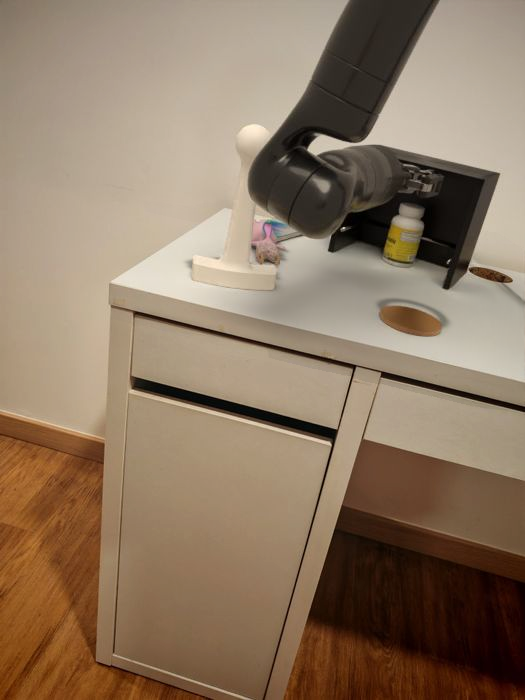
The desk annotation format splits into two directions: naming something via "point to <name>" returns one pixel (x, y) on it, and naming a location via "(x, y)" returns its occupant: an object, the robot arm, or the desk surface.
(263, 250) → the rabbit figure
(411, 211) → the supplement bottle
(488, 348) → the desk surface
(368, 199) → the robot arm
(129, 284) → the desk surface
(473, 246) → the black open shelf
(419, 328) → the cork trivet
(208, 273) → the joystick
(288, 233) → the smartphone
